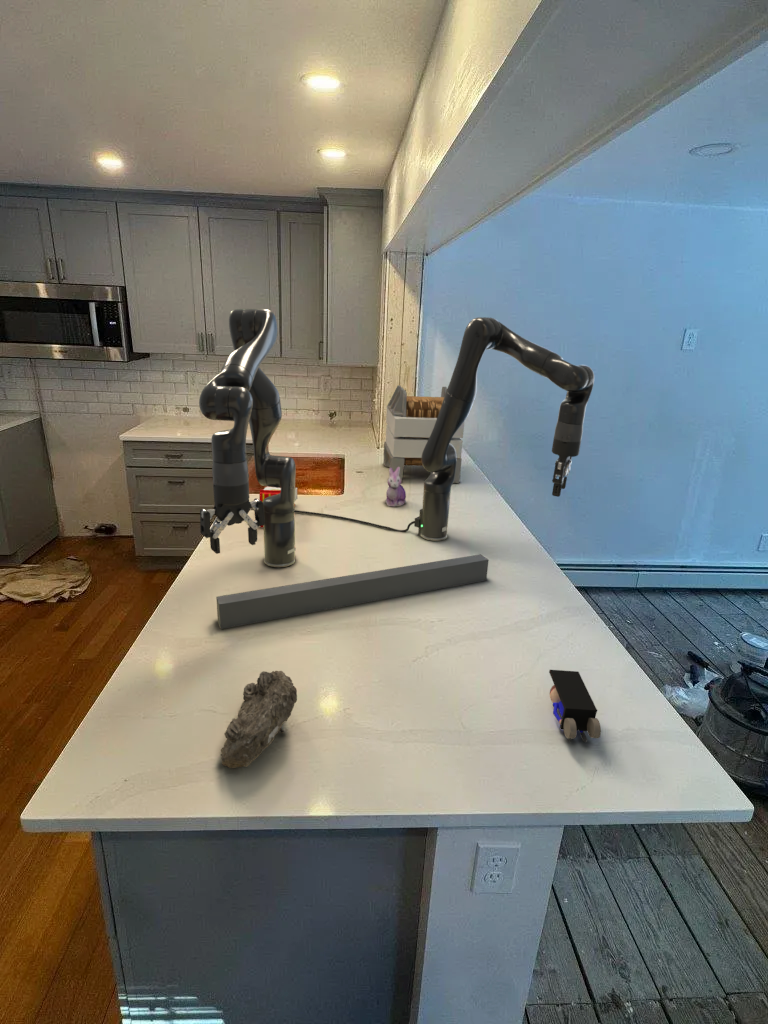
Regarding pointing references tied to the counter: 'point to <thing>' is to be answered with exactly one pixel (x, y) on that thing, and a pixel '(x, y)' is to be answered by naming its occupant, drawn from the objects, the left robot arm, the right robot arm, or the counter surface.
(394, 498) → the figurine
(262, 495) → the toy
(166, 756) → the counter surface
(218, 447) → the left robot arm
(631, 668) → the counter surface
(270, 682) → the fossil
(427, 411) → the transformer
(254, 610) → the beam
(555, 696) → the figurine character
